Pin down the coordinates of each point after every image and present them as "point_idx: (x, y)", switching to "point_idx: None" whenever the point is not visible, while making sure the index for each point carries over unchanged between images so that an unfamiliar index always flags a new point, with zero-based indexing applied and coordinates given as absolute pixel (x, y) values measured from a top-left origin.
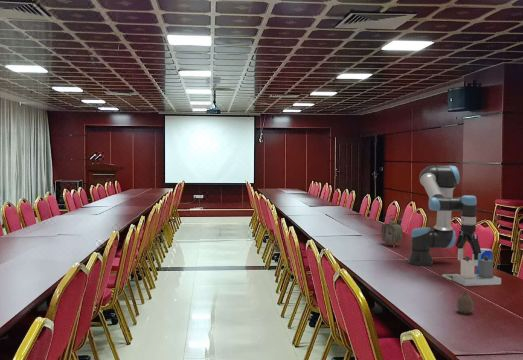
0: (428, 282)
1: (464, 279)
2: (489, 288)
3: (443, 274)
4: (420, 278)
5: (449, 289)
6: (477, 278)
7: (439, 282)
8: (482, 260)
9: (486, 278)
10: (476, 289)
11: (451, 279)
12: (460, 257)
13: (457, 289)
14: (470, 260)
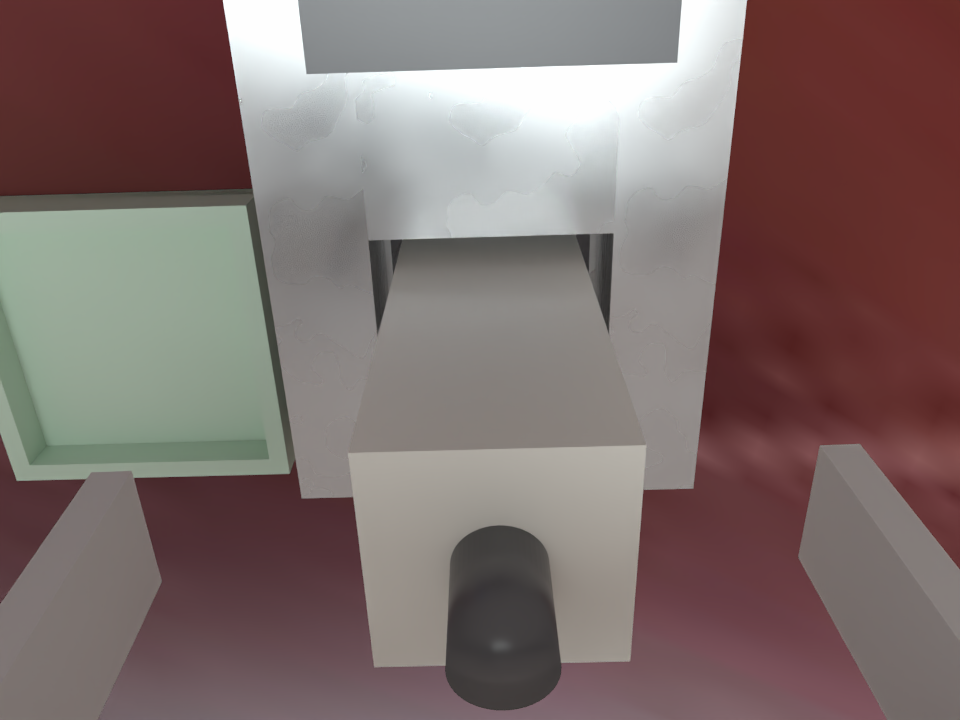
0: (338, 706)
1: (662, 486)
2: (835, 72)
3: (11, 461)
4: (122, 709)
5: (707, 638)
6: (652, 230)
7: (346, 599)
8: (519, 63)
9: (696, 29)
10: (817, 325)
11: (293, 454)
12: (121, 593)
13: (735, 559)
14: (485, 481)
